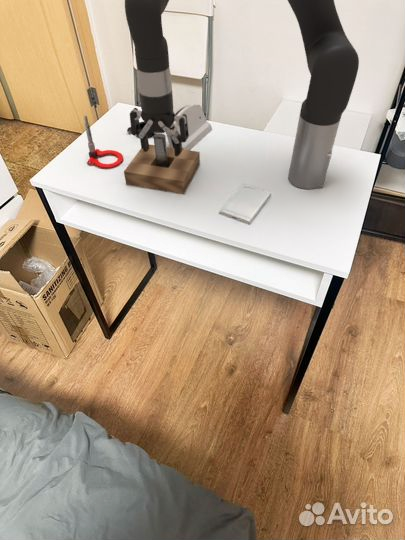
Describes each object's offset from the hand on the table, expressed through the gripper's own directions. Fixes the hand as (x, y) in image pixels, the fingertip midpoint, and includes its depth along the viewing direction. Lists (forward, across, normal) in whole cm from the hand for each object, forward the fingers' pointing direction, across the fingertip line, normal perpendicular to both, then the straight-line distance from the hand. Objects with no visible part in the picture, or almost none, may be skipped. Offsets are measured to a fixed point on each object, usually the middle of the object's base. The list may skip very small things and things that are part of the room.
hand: (161, 152), depth 97 cm
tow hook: (+7, +18, -2) cm, 19 cm away
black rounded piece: (+7, +13, -19) cm, 24 cm away
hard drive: (+7, -24, +7) cm, 26 cm away
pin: (+7, 0, 0) cm, 7 cm away
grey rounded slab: (+7, -1, -20) cm, 21 cm away
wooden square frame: (+7, 0, 0) cm, 7 cm away
